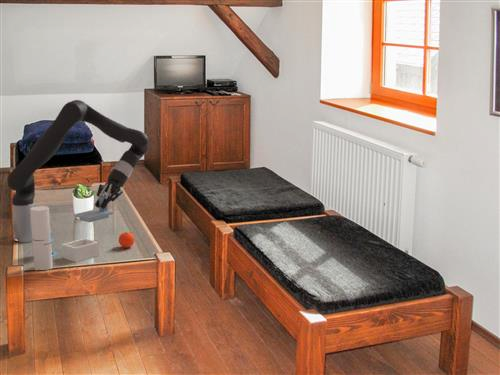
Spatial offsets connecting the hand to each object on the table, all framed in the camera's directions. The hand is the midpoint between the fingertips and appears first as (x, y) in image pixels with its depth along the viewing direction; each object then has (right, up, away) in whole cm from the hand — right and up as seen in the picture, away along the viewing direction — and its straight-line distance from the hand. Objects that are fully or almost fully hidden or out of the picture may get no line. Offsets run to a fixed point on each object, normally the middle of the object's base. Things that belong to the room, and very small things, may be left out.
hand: (99, 207), depth 311 cm
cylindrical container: (-22, -25, -6) cm, 33 cm away
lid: (-2, -5, -1) cm, 5 cm away
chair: (-25, -22, +9) cm, 34 cm away
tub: (-9, -21, +9) cm, 25 cm away
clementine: (+8, -19, +22) cm, 30 cm away
